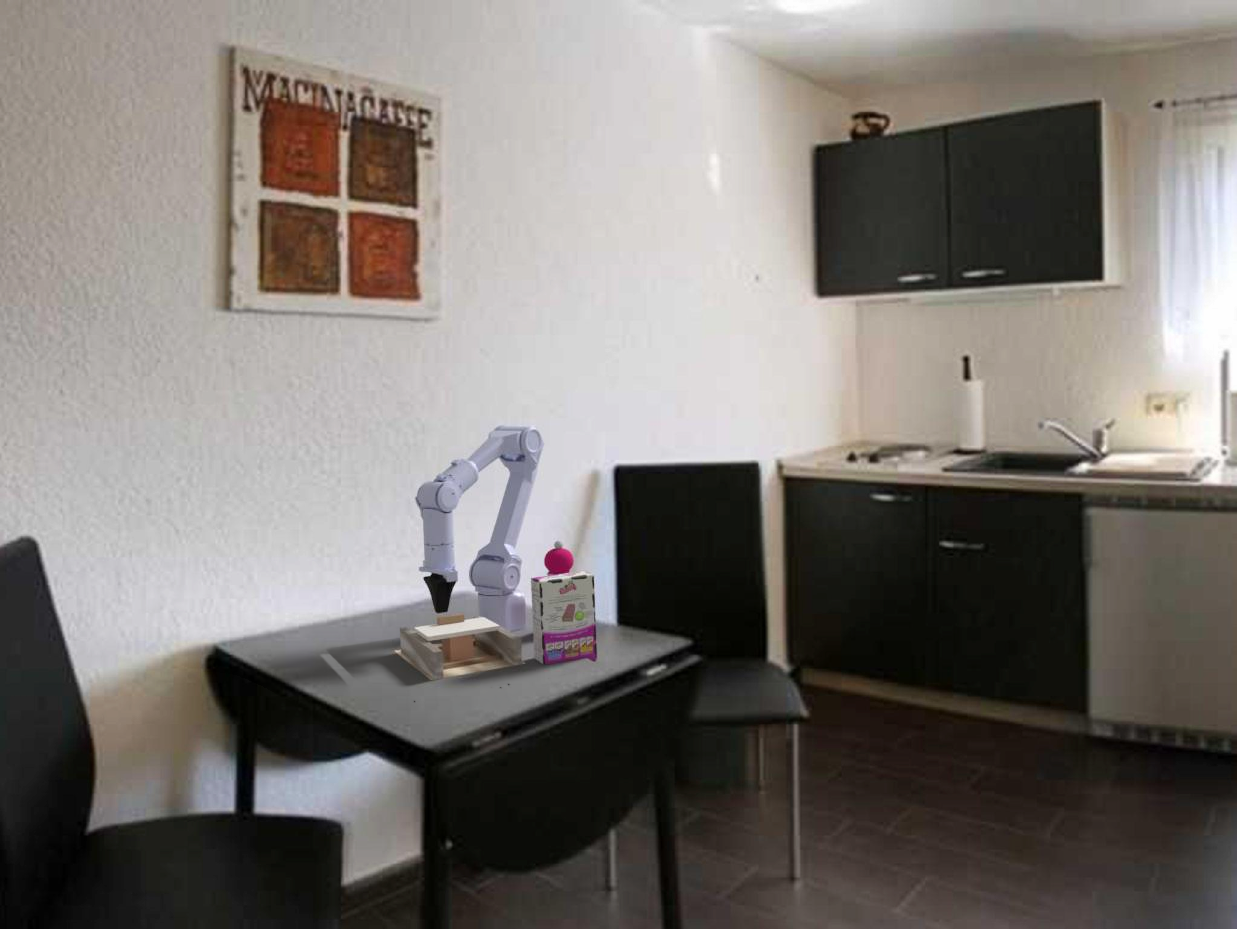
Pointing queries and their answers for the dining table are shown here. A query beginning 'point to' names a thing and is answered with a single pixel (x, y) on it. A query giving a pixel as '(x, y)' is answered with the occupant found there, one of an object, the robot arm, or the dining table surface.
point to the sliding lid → (455, 627)
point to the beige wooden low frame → (488, 655)
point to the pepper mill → (558, 560)
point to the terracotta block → (458, 647)
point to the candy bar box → (564, 617)
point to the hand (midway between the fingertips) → (441, 612)
